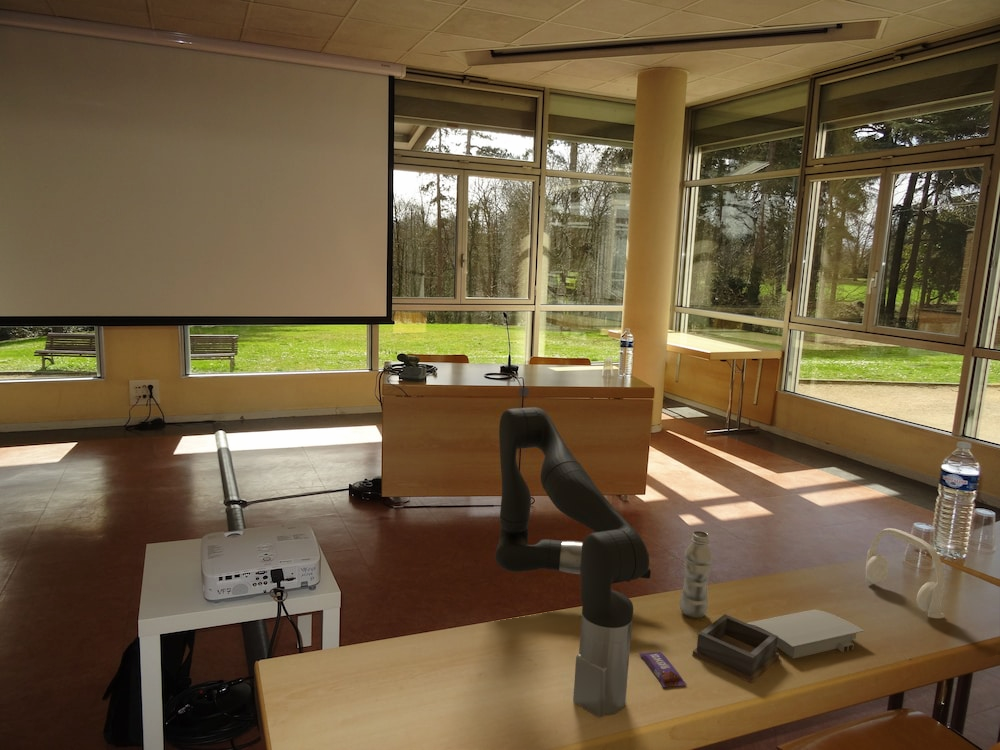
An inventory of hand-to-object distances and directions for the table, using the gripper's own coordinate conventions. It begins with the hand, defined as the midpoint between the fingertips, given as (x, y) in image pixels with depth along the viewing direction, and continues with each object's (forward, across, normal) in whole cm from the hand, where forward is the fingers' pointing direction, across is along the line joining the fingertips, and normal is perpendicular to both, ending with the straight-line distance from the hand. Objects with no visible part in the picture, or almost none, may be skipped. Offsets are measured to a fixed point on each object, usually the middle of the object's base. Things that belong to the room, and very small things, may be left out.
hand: (649, 565), depth 164 cm
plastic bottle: (+11, 0, +11) cm, 16 cm away
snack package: (+2, -24, +12) cm, 27 cm away
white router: (+35, -5, +12) cm, 37 cm away
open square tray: (+18, -16, +11) cm, 26 cm away
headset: (+64, +19, +11) cm, 67 cm away
